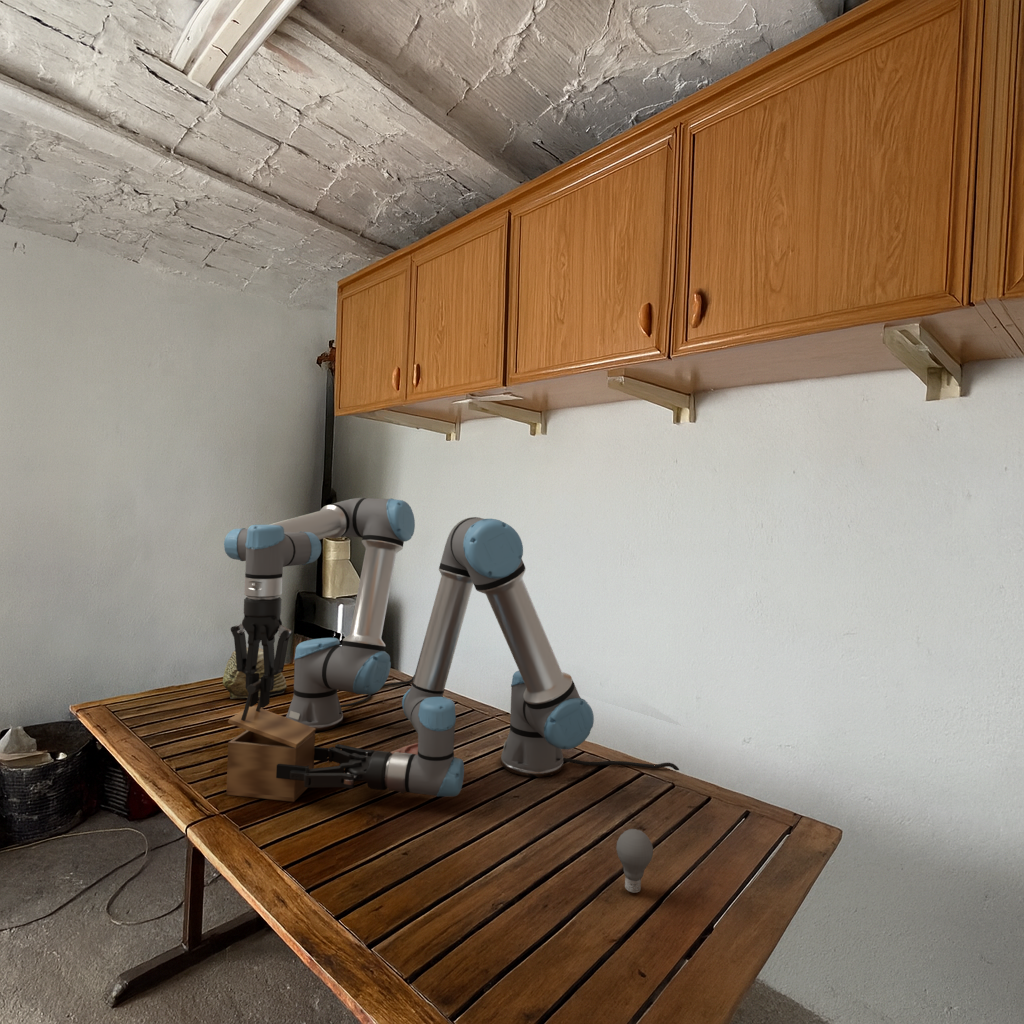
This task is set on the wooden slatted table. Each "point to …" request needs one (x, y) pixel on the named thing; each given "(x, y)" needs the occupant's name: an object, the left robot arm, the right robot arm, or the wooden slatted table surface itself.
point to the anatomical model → (408, 749)
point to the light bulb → (634, 857)
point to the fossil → (237, 680)
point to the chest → (265, 766)
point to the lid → (270, 722)
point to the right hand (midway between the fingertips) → (288, 761)
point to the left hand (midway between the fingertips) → (258, 704)
